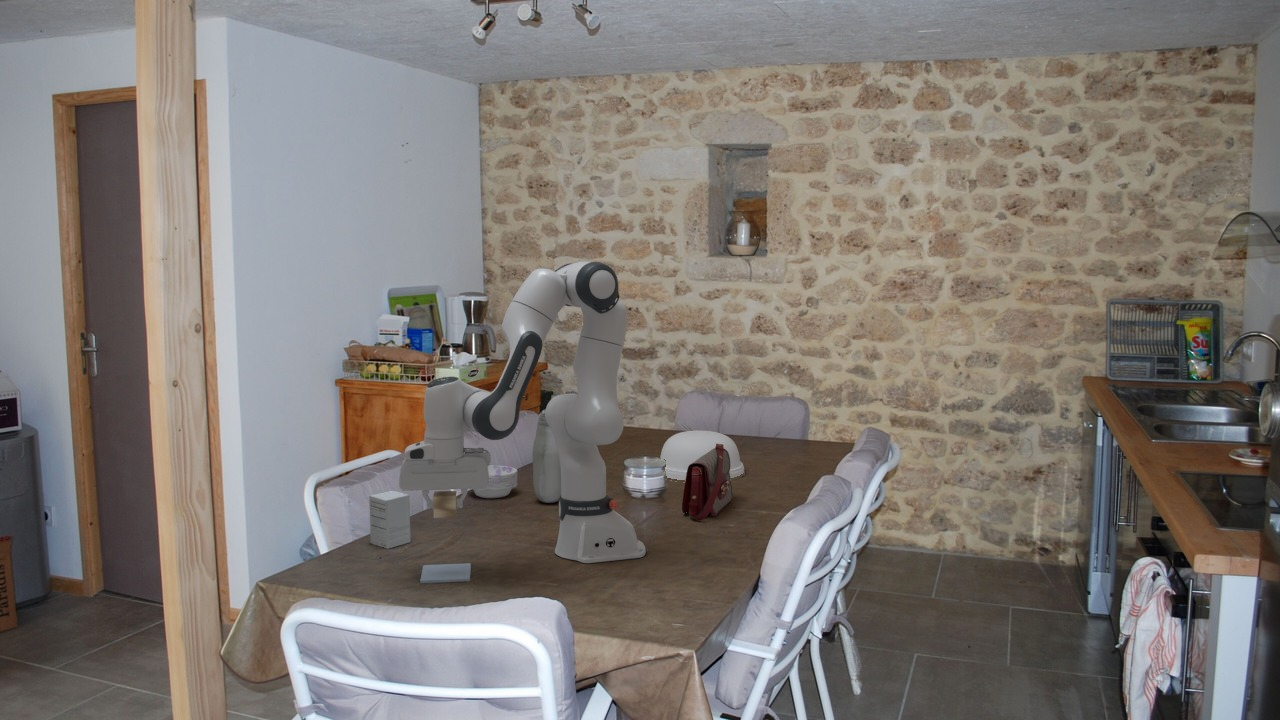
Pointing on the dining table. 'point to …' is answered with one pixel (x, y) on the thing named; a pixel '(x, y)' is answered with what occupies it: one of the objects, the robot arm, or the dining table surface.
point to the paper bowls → (498, 482)
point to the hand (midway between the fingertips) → (445, 508)
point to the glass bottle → (546, 463)
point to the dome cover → (696, 452)
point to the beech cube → (444, 504)
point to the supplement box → (389, 519)
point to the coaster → (446, 573)
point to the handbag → (708, 484)
